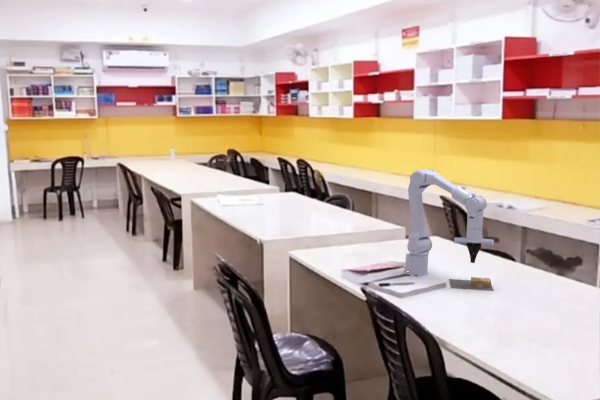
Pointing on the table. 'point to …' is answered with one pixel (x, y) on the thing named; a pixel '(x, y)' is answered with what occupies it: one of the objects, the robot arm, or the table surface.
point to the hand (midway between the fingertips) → (472, 262)
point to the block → (480, 282)
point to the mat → (466, 285)
